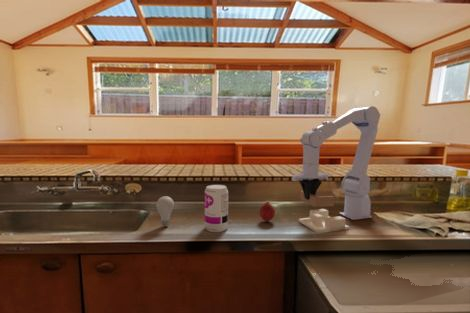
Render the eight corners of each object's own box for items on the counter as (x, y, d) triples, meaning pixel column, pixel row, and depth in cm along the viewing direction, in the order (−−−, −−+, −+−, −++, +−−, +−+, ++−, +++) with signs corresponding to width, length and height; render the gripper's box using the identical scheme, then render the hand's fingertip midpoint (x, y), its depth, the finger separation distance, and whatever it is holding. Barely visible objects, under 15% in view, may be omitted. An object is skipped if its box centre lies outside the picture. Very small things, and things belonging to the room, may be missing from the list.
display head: (327, 218, 102) (327, 208, 102) (349, 229, 91) (349, 218, 90) (298, 221, 98) (299, 211, 98) (317, 233, 87) (318, 221, 86)
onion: (274, 225, 94) (274, 203, 93) (258, 223, 95) (258, 202, 94) (274, 219, 100) (275, 199, 99) (260, 218, 101) (260, 198, 100)
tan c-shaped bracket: (317, 198, 105) (317, 190, 104) (333, 205, 95) (334, 196, 94) (299, 199, 102) (300, 191, 102) (315, 206, 92) (315, 197, 92)
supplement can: (210, 234, 85) (210, 190, 83) (201, 226, 92) (201, 185, 91) (231, 230, 89) (232, 188, 87) (221, 222, 96) (222, 183, 94)
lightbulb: (177, 224, 94) (177, 195, 93) (168, 230, 88) (167, 199, 87) (163, 222, 96) (162, 193, 95) (153, 228, 90) (152, 197, 89)
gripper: (320, 161, 102) (319, 194, 103) (288, 162, 98) (287, 197, 99) (332, 163, 95) (330, 199, 97) (298, 164, 91) (296, 202, 92)
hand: (309, 198), depth 97 cm, fingers closed on tan c-shaped bracket, 2 cm apart
